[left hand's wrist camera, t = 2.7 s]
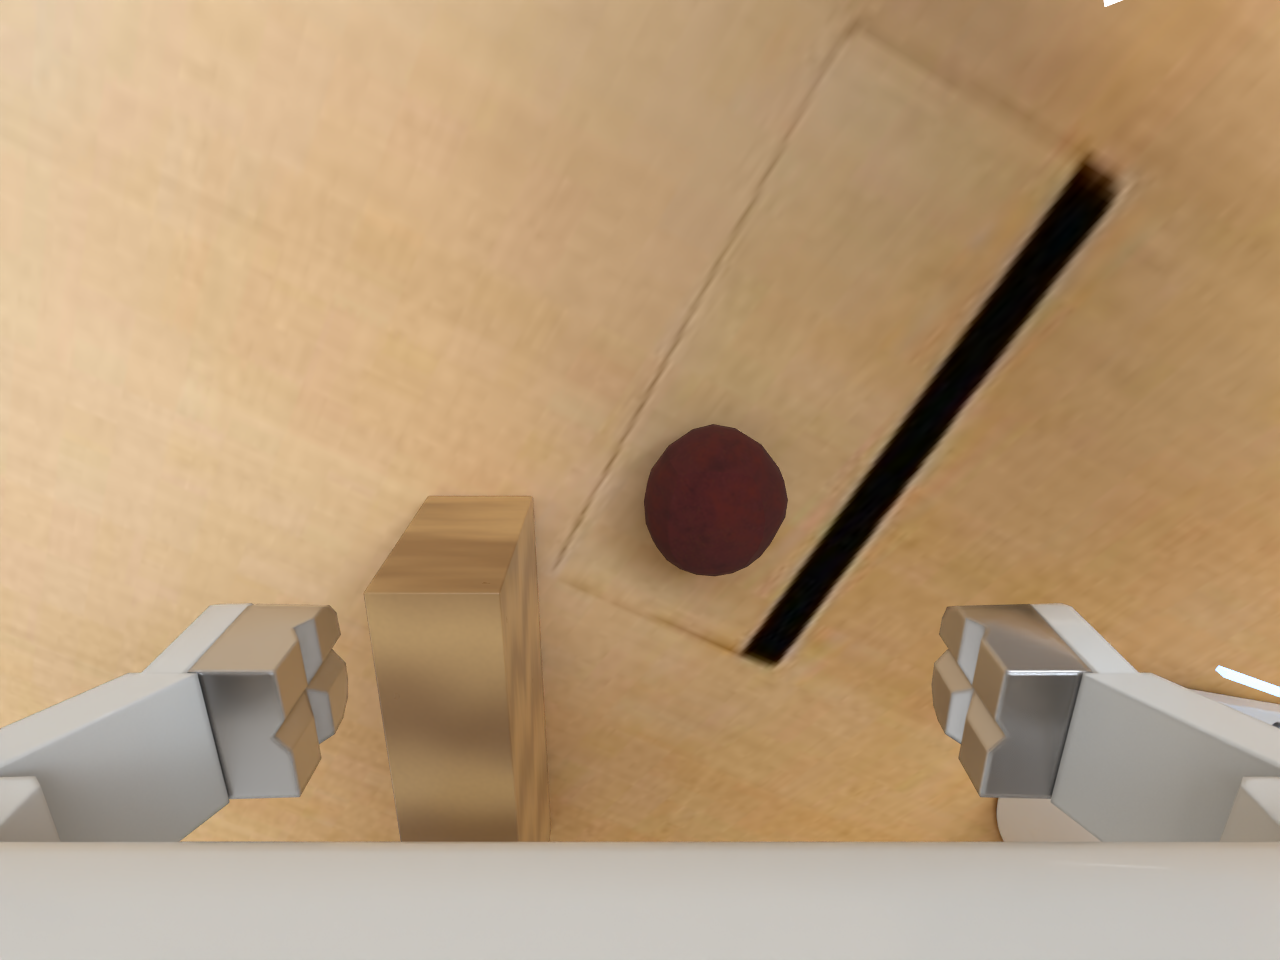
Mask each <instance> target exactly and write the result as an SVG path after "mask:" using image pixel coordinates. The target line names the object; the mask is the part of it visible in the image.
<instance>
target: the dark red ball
mask: <svg viewBox="0 0 1280 960" xmlns="http://www.w3.org/2000/svg"><path fill="white" fill-rule="evenodd" d="M787 502H788V499H787V494H786V489H785V483H784V479H783V477H782V475H781V472H780V470H779V467H778V466H777V465H776V463H775V462H774V461H773V459H772V458H771V457H770V455H769V454H768V453H767V451H766V450H765V449H764V447H763V446H762V445H761V444H759V443H758V442H756V441H755V440H753V439H751V438H750V437H748V436H747V435H745V434H743V433H742V432H740V431H738V430H737V429H735V428H731V427H725V426H720V425H714V424H712V425H708V426H704V427H700V428H696V429H692V430H691V431H690V432H688V433H687V434H685V435H684V436H683V437H681V438H680V439H678V440H677V441H675V442H674V443H672V444H671V445H669V446H668V448H667V449H666V450H665V452H664V453H663V454H662V456H661V457H660V458H659V460H658V461H657V463H656V464H655V465H654V467H653V468H652V469H651V473H650V476H649V479H648V483H647V488H646V494H645V499H644V506H645V519H646V525H647V527H648V530H649V532H650V535H651V537H652V539H653V541H654V543H655V545H656V546H657V548H658V549H659V551H660V552H661V553H662V554H663V556H664V557H665V558H666V559H667V560H668V561H669V562H671V563H672V564H674V565H675V566H677V567H678V568H679V569H682V570H685V571H687V572H690V573H693V574H696V575H707V576H719V575H724V574H730V573H734V572H736V571H738V570H741V569H743V568H745V567H747V566H749V565H750V564H751V563H752V562H754V561H755V560H756V559H757V558H759V557H760V556H761V555H762V554H763V552H764V551H765V550H766V548H767V547H768V546H769V545H770V543H771V542H772V540H773V538H774V537H775V535H776V533H777V531H778V529H779V527H780V526H781V524H782V522H783V520H784V518H785V515H786V508H787Z"/></svg>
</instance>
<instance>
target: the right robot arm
mask: <svg viewBox="0 0 1280 960" xmlns="http://www.w3.org/2000/svg"><path fill="white" fill-rule="evenodd" d="M1216 671H1217V672H1219V673H1220V674H1221V675H1222V676H1223V677H1225V678H1228V679H1230V680H1233V681H1236V682H1239V683H1242V684H1245V685H1247V686H1250V687H1253V688H1256V689H1259V690H1262V691H1264V692H1267V693H1270V694H1273V695H1276V696H1279V697H1280V687H1277V686H1275V685H1272V684H1269V683H1266V682H1263V681H1261V680H1258V679H1255V678H1252V677H1249V676H1246V675H1244V674H1241V673H1238V672H1235V671H1232V670H1230V669H1227V668H1224V667H1221V666H1218V667H1217V669H1216ZM1190 690H1192V691H1194V692H1197V693H1199V694H1201V695H1203V696H1206V697H1208V698H1210V699H1213V700H1215V701H1217V702H1220V703H1222V704H1224V705H1226V706H1229V707H1231V708H1233V709H1236V710H1238V711H1240V712H1243V713H1245V714H1247V715H1249V716H1252V717H1254V718H1256V719H1259V720H1261V721H1263V722H1266V723H1268V724H1270V725H1272V726H1275V727H1277V728H1279V729H1280V704H1274V703H1268V702H1263V701H1257V700H1251V699H1245V698H1239V697H1234V696H1228V695H1222V694H1216V693H1210V692H1205V691H1199V690H1193V689H1190ZM1050 801H1051V799H1031V798H998V803H997V824H998V828H999V832H1000V835H1001V837H1002V839H1003V841H1004V842H1101V841H1100V840H1098V839H1097V838H1096V837H1095V836H1093V835H1092V834H1091V833H1089V832H1088V831H1087V830H1086V829H1084V828H1083V827H1082V826H1080V825H1079V824H1078V823H1077V822H1075V821H1074V820H1073V819H1071V818H1070V817H1069V816H1068V815H1066V814H1065V813H1064V812H1062V811H1061V810H1060V809H1058V808H1057V807H1056V806H1055V805H1053V804H1052V803H1051V802H1050Z"/></svg>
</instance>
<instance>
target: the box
mask: <svg viewBox="0 0 1280 960" xmlns="http://www.w3.org/2000/svg"><path fill="white" fill-rule="evenodd" d="M364 599H365V606H366V612H367V619H368V626H369V632H370V639H371V646H372V652H373V659H374V666H375V672H376V679H377V686H378V692H379V699H380V706H381V713H382V719H383V726H384V733H385V739H386V746H387V753H388V759H389V766H390V773H391V779H392V786H393V793H394V799H395V806H396V813H397V820H398V826H399V833H400V840H401V842H549V840H550V832H551V824H550V806H549V787H548V769H547V751H546V733H545V714H544V696H543V678H542V659H541V641H540V623H539V604H538V586H537V568H536V549H535V531H534V513H533V497H532V496H428V497H427V499H426V500H425V502H424V503H423V505H422V506H421V508H420V509H419V511H418V512H417V514H416V515H415V517H414V518H413V520H412V521H411V523H410V524H409V526H408V527H407V529H406V530H405V532H404V533H403V535H402V536H401V538H400V539H399V541H398V542H397V544H396V545H395V547H394V548H393V550H392V551H391V553H390V554H389V556H388V557H387V559H386V560H385V562H384V563H383V565H382V566H381V568H380V569H379V571H378V572H377V574H376V575H375V577H374V578H373V580H372V581H371V583H370V584H369V586H368V587H367V589H366V590H365V592H364Z"/></svg>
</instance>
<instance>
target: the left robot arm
mask: <svg viewBox="0 0 1280 960" xmlns="http://www.w3.org/2000/svg"><path fill="white" fill-rule="evenodd" d="M1118 1H1121V0H1104V4H1105V6H1108V5H1111V4H1113V3H1116V2H1118ZM340 635H341V633H340V628H339V623H338V618H337V613H336V612H335V611H334V610H333V609H332V607H331V606H330V605H287V604H255V605H254V604H252V603H240V604H217V605H210V606H209V607H208V608H207V609H206V610H205V611H204V612H203V613H202V614H201V615H200V616H199V617H198V618H197V619H196V620H195V621H194V622H193V623H192V624H191V625H189V626H188V627H187V628H186V629H185V630H184V631H183V632H182V633H181V634H180V635H179V636H178V637H177V638H176V639H175V640H174V641H173V642H172V643H171V644H170V645H169V646H168V647H167V648H166V649H165V650H164V651H163V652H162V653H161V654H160V655H159V656H158V657H157V658H156V659H155V660H154V661H153V662H152V663H151V664H150V665H149V666H148V667H147V668H146V669H145V670H144V671H143V672H141V673H127V674H125V675H123V676H120V677H118V678H116V679H113V680H111V681H109V682H106V683H104V684H102V685H100V686H97V687H95V688H93V689H90V690H88V691H86V692H83V693H81V694H79V695H76V696H74V697H72V698H70V699H67V700H65V701H63V702H60V703H58V704H56V705H53V706H51V707H49V708H46V709H44V710H42V711H40V712H37V713H35V714H33V715H30V716H28V717H26V718H23V719H21V720H19V721H16V722H14V723H12V724H10V725H7V726H5V727H3V728H0V960H1280V729H1279V728H1277V727H1275V726H1272V725H1270V724H1268V723H1266V722H1263V721H1261V720H1259V719H1256V718H1254V717H1252V716H1249V715H1247V714H1245V713H1243V712H1240V711H1238V710H1236V709H1233V708H1231V707H1229V706H1226V705H1224V704H1222V703H1220V702H1217V701H1215V700H1213V699H1210V698H1208V697H1206V696H1203V695H1201V694H1199V693H1197V692H1194V691H1192V690H1190V689H1187V688H1185V687H1183V686H1180V685H1178V684H1176V683H1174V682H1171V681H1169V680H1167V679H1164V678H1162V677H1160V676H1157V675H1155V674H1153V673H1139V672H1138V671H1137V670H1136V669H1135V668H1133V667H1132V666H1131V665H1130V664H1129V663H1128V662H1127V661H1126V660H1125V659H1124V658H1123V657H1122V656H1121V655H1120V654H1119V653H1118V652H1117V651H1116V650H1115V649H1114V648H1113V647H1112V646H1111V645H1110V644H1109V643H1108V642H1107V641H1106V640H1105V639H1104V638H1103V637H1102V636H1101V635H1100V634H1099V633H1098V632H1097V631H1096V630H1095V629H1094V628H1093V627H1092V626H1091V625H1090V624H1089V623H1088V622H1087V621H1086V620H1085V619H1084V618H1083V617H1082V616H1081V615H1080V614H1079V613H1077V612H1076V611H1075V610H1074V609H1073V608H1072V607H1071V606H1068V605H1066V604H1063V603H1049V604H1017V605H976V606H951V607H947V609H946V611H945V613H944V615H943V617H942V622H941V627H940V633H939V635H940V636H941V638H942V640H943V641H944V643H945V644H946V646H947V647H948V650H947V651H946V652H945V653H944V654H943V655H942V656H941V657H940V658H939V659H938V660H937V661H936V662H935V663H934V670H933V678H932V695H933V705H934V709H935V712H936V715H937V719H938V721H939V723H940V725H941V727H942V729H943V731H944V733H945V734H946V735H948V736H949V737H951V738H952V739H954V740H955V741H957V742H958V743H960V744H961V748H960V753H959V760H960V762H961V764H962V765H963V767H964V769H965V771H966V773H967V774H968V776H969V778H970V780H971V781H972V783H973V785H974V787H975V789H976V790H977V792H978V794H979V796H980V797H994V798H1031V799H1051V801H1050V802H1051V803H1052V804H1053V805H1055V806H1056V807H1057V808H1058V809H1060V810H1061V811H1062V812H1064V813H1065V814H1066V815H1068V816H1069V817H1070V818H1071V819H1073V820H1074V821H1075V822H1077V823H1078V824H1079V825H1080V826H1082V827H1083V828H1084V829H1086V830H1087V831H1088V832H1089V833H1091V834H1092V835H1093V836H1095V837H1096V838H1097V839H1098V840H1100V841H1101V842H179V841H180V840H182V839H183V838H184V837H186V836H187V835H188V834H190V833H191V832H192V831H193V830H195V829H196V828H197V827H199V826H200V825H201V824H202V823H204V822H205V821H206V820H208V819H209V818H210V817H211V816H213V815H214V814H215V813H217V812H218V811H219V810H221V809H222V808H223V807H224V806H226V805H227V804H228V803H229V799H248V798H284V797H300V796H301V794H302V792H303V791H304V789H305V787H306V785H307V783H308V782H309V780H310V778H311V776H312V774H313V773H314V771H315V769H316V767H317V765H318V764H319V762H320V760H321V753H320V747H319V744H320V743H322V742H323V741H325V740H326V739H328V738H329V737H331V736H332V735H334V734H335V733H336V731H337V729H338V727H339V725H340V723H341V721H342V719H343V716H344V712H345V707H346V703H347V698H348V675H347V669H346V663H345V662H344V661H343V660H342V659H341V658H340V657H339V656H338V655H337V654H336V653H335V652H334V651H333V650H332V647H333V646H334V644H335V643H336V641H337V640H338V638H339V636H340Z"/></svg>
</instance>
